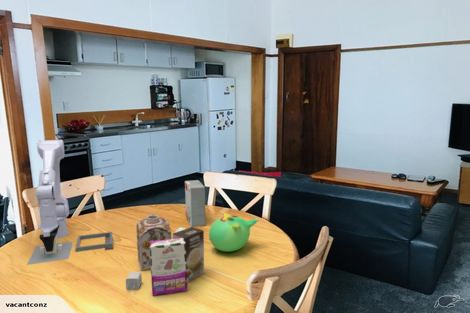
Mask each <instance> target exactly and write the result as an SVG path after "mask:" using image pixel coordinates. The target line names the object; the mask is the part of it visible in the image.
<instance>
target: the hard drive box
mask: <svg viewBox="0 0 470 313" xmlns="http://www.w3.org/2000/svg"><path fill="white" fill-rule="evenodd" d="M184 192H185V193H184V194H185V217H186V220H187V222H188V223H189V226H190V227H193V228H196V227H195V226H199V227H203V226H202V225H206V222H207V220H206V187H205V185H203V183H202V182H201V181H200V180H198V179H196V180H185V181H184Z"/></svg>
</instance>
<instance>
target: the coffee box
mask: <svg viewBox="0 0 470 313" xmlns="http://www.w3.org/2000/svg"><path fill="white" fill-rule="evenodd" d="M204 232H205V231H204V230H203V229H201V228H197V227H191V226H190V227H188V228H187V229H184V230H182V231H179V232H176V233H174V232H173V233H172V239H177V238H184V241H185V244H186V267H187V283H189V282H191V281H193V280H194V279H196V278H199V277H200V276H202V275H204V274H205V244H204V242H205V240H204V239H205V238H204V237H205V233H204Z"/></svg>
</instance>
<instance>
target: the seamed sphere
mask: <svg viewBox="0 0 470 313" xmlns="http://www.w3.org/2000/svg"><path fill="white" fill-rule="evenodd" d="M184 229H187V228H186V227H184V226H183V227H178V228H177V229H176V230H175V231H174V232H173V233H176V232H179V231H182V230H184Z"/></svg>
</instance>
